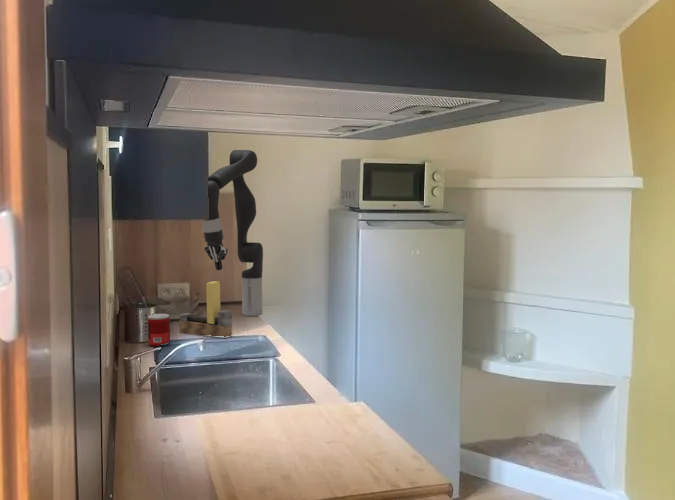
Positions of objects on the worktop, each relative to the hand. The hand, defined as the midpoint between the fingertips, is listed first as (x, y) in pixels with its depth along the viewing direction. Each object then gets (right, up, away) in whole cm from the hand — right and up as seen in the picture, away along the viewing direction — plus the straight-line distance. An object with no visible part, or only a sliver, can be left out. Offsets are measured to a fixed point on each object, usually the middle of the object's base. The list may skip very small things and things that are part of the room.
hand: (219, 269), depth 274 cm
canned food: (-19, -28, -22) cm, 40 cm away
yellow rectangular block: (0, -21, -10) cm, 23 cm away
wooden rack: (-4, -26, -7) cm, 27 cm away
